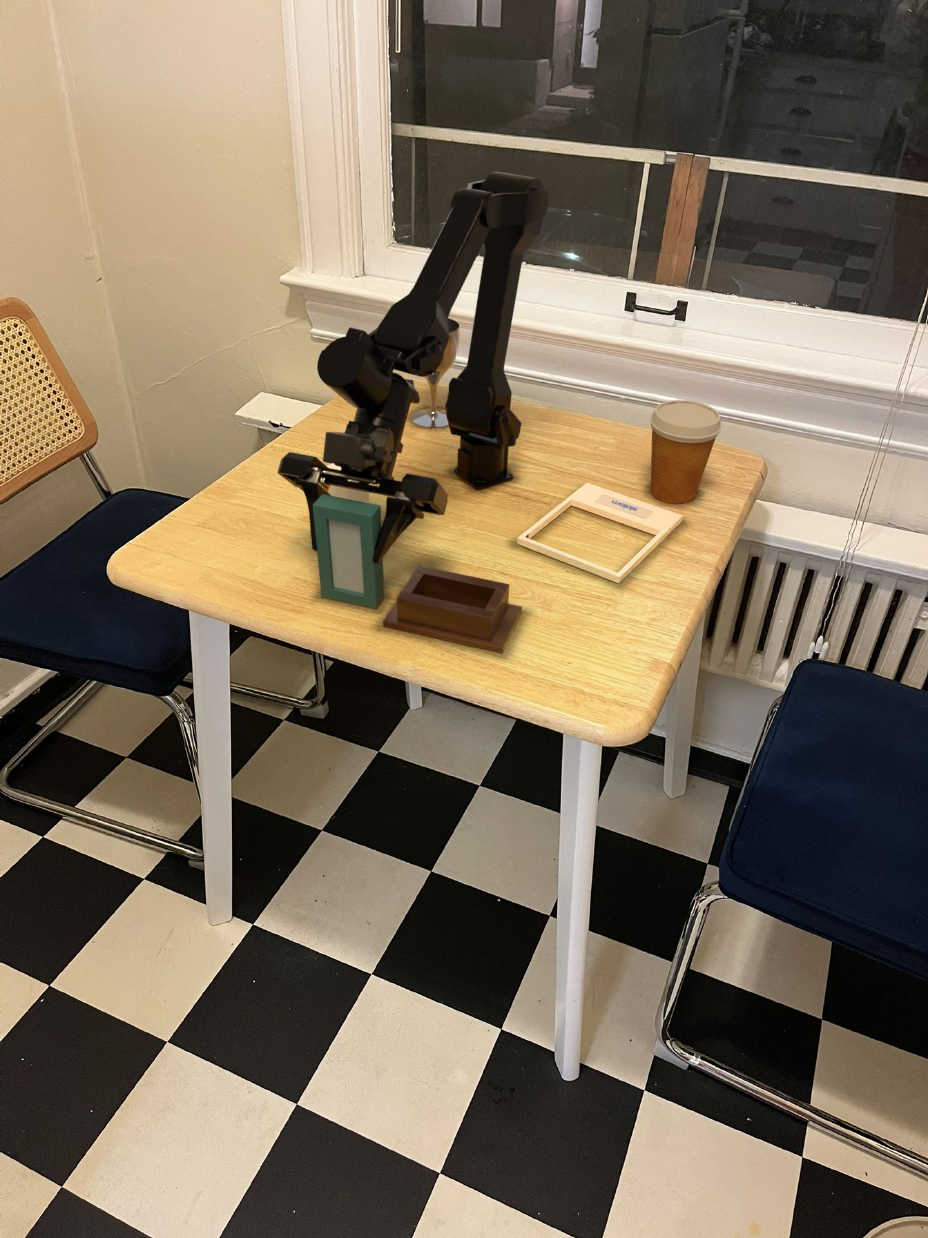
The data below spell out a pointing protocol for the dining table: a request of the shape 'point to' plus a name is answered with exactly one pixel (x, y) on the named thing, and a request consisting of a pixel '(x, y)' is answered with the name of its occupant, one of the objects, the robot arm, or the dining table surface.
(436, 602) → the frame holder
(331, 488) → the beige cup
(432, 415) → the wine glass
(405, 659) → the dining table surface
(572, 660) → the dining table surface
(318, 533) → the picture frame
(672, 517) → the photo frame
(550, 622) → the dining table surface
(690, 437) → the disposable coffee cup
